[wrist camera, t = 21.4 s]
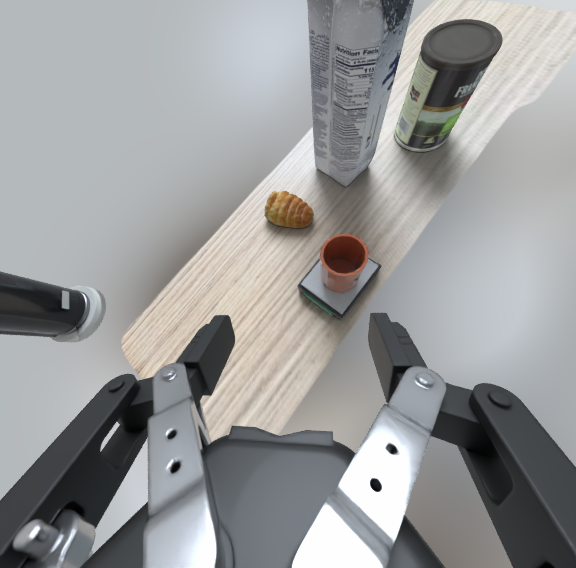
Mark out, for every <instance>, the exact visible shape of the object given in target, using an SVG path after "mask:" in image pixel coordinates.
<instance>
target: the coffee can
mask: <svg viewBox="0 0 576 568" xmlns="http://www.w3.org/2000/svg"><path fill="white" fill-rule="evenodd" d="M501 45H502V35H501V33H500V31H499V30H498V29H497V28H496V27H494V26H493V25H491V24H489V23H486V22H483V21H479V20H471V19H462V20H454V21H450V22H446V23H443V24H441V25H438V26H437V27H435V28H433V29H432V30H431V31H429V32H428V33H427V35H426V36H425V37H424V40H423V42H422V46H421V52H420V55H419V58H418V61H417V64H416V67H415V70H414V73H413V76H412V80H411V83H410V86H409V89H408V92H407V95H406V98H405V101H404V104H403V107H402V110H401V113H400V117H399V120H398V123H397V126H396V128H395V131H394V136H395V139H396V141H397V142H398V144H399V145H401V146H402V147H404V148H405V149H408V150H411V151H415V152H426V151H431V150H434V149H436V148H438V147H440V146H441V145H442V144H443V143H444V142H445V141H446V139H447V137H448V135H449V133H450V132H451V130H452V128H453V127H454V125H455V123H456V121H457V119H458V118H459V116H460V114H461V113H462V111H463V109H464V107H465V106H466V104H467V102H468V100H469V99H470V97H471V95H472V94H473V92H474V90H475V89H476V87H477V85H478V83H479V82H480V80H481V78H482V76H483V75H484V73H485V71H486V69H487V68H488V66H489V64H490V63H491V61H492V59H493V57H494V56H495V55H496V54H497V52H498V51H499V49H500V47H501Z"/></svg>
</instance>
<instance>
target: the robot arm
mask: <svg viewBox="0 0 576 568" xmlns="http://www.w3.org/2000/svg"><path fill="white" fill-rule="evenodd" d="M89 311H90V300H89V297H88V296H87V295H86V294H85V293H84V292H82V291H78V290H71V289H67V288H63V287H60V286H56V285H52V284H48V283H44V282H40V281H35V280H32V279H28V278H24V277H20V276H16V275H12V274H8V273H4V272H0V334H7V335H8V334H9V335H26V336H43V337H56V336H58V335H68V334H71V333H73V332H75V331H76V330H77V329H79V328H80V327H81V326H82V325H83V323H84V322H85V320H86V319H87V317H88V314H89ZM368 341H369V347H370V350H371V353H372V357H373V360H374V363H375V366H376V370H377V373H378V376H379V379H380V383H381V386H382V389H383V392H384V396H385V399H386V402H387V403H388V404H387V405H386V404H384V405H383V407H382V408H381V410H380V412H379V414H378V415H377V417H376V419H375V421H374V422H373V424H372V426H371V428H370V430H369V431H368V433H367V435H366V437H365V438H364V440H363V442H362V444H361V445H360V447H359V449H358V451H357V453H354V452H353V451H352V450H351V449H349V448H348V447H346V446H345V445H343V444H341V443H339V442H336V441H334V440H333V432H329V431H311V430H306V431H301V432H296V433H292V434H288V435H283V436H278V435H275V434H272V433H270V432H267V431H264V430H262V429H259V428H256V427H242V426H232V428H231V431H230V434H229V435H226V436H224V437H221V438H219V439H217V440H215V441H213V442H211V439H210V436H209V432H208V428H207V424H206V420H205V416H204V412H203V408H202V404H201V402H200V400H201V398H202V396H203V395H209V396H211V395H212V393H213V391H214V389H215V386H216V384H217V382H218V380H219V378H220V375H221V373H222V371H223V369H224V367H225V365H226V362H227V360H228V358H229V356H230V354H231V351H232V349H233V347H234V344H235V335H234V331H233V327H232V324H231V320H230V317H229V316H228V315H216V316H214V317H213V319H212V320H211V322H210V323H209V324H206V325H205V326H203V327H202V328H201V329H199V331H198V332H197V333H196V335H195V336H194V338H193V339H192V340H191V342H190V343H189V344H188V346H187V347H186V349H185V350H184V351H183V353H182V354H181V356H180V357H179V358H178V360H177V361H176V363H172V364H169V365H167V366H165V367H163V368H162V369H160V370H159V371H158V372H157V373H156V374H155V376H154V377H151V378H147V379H143V380H139V381H137V379H136V378H135V376H134V375H132V374H124V375H121V376H118V377H116V378H114V379H112V380H111V381H110V382H108V383H107V384H106V385H105V386H104V387H103V388H102V389H101V390H100V391H99V392H98V393H97V394H96V395H95V397H94V398H93V399H92V400H91V401H90V402H89V403H88V404H87V405H86V407H85V408H84V409H83V410H82V411H81V412H80V413H79V414H78V415H77V417H76V418H75V419H74V420H73V421H72V422H71V423H70V424H69V425H68V426H67V427H66V429H65V430H64V431H63V432H62V433H61V434H60V435H59V436H58V437H57V438H56V440H55V441H54V442H53V443H52V444H51V445H50V446H49V447H48V448H47V450H46V451H45V452H44V453H43V454H42V455H41V456H40V457H39V458H38V459H37V460H36V462H35V463H34V464H33V465H32V466H31V467H30V468H29V469H28V471H27V472H26V473H25V474H24V475H23V476H22V477H21V478H20V479H19V480H18V481H17V483H16V484H15V485H14V486H13V487H12V488H11V489H10V490H9V492H8V493H7V494H6V495H5V496H4V497H3V498H2V499H1V500H0V568H445V567H444V565H443V564H442V563H441V561H440V560H439V559H438V557H437V556H436V555H435V554H434V552H433V551H432V550H431V548H430V547H429V546H428V545H427V543H426V542H425V541H424V539H423V538H422V537H421V535H420V534H419V533H418V531H417V530H416V529H415V528H414V526H413V525H412V524H411V522H410V521H409V520H408V519H407V517H406V516H405V515H404V513H405V510H406V507H407V504H408V501H409V498H410V495H411V492H412V489H413V486H414V484H415V481H416V478H417V475H418V472H419V469H420V466H421V463H422V460H423V457H424V454H425V451H426V448H427V445H428V442H429V439H430V436H433V437H436V438H439V439H441V440H444V441H447V442H449V443H452V444H455V445H457V446H458V448H459V450H460V452H461V454H462V457H463V459H464V461H465V463H466V465H467V468H468V470H469V472H470V474H471V477H472V479H473V481H474V483H475V485H476V487H477V490H478V491H479V494H480V496H481V498H482V501H483V503H484V505H485V507H486V509H487V511H488V514H489V516H490V518H491V520H492V522H493V525H494V527H495V529H496V531H497V533H498V536H499V538H500V540H501V542H502V544H503V546H504V549H505V551H506V552H507V555H508V557H509V559H510V562H511V564H512V566H513V568H576V467H575V466H574V465H573V463H572V462H571V461H570V460H569V459H568V457H567V456H566V455H565V454H564V452H563V451H562V450H561V449H560V448H559V447H558V445H557V444H556V443H555V441H554V440H553V439H552V438H551V437H550V435H549V434H548V433H547V432H546V430H545V429H544V428H543V427H542V426H541V424H540V423H539V422H538V421H537V419H536V418H535V417H534V416H533V415H532V413H531V412H530V411H529V410H528V408H527V407H526V406H525V405H524V404H523V402H522V401H521V400H520V399H519V398H517V397H516V396H515V395H514V394H513V393H511V392H509V391H508V390H506V389H504V388H502V387H499V386H496V385H493V384H488V383H487V384H486V383H482V384H478V385H476V386H475V387H474V389H473V390H469V389H465V388H462V387H457V386H454V385H451V384H448V383H445V382H444V380H443V379H442V378H441V377H440V376H439V375H438V374H437V373H435V372H434V371H432V370H430V369H428V368H427V366H426V364H425V362H424V360H423V359H422V357H421V355H420V353H419V352H418V350H417V348H416V346H415V345H414V344H413V341H412V339H411V338H410V336H409V334H408V332H407V331H406V329H405V328H404V327H403V326H401V325H400V324H399V323H398V322H391V321H390V320H389V317H388V315H387V314H386V313H371V314H370V323H369V333H368ZM116 422H118V423H119V424H120V426H119V427H118V428H117V430H116V431H115V433H114V434H113V435H112V437H111V438H110V440H109V441H108V443H107V444H106V446H105V447H104V448H103V450H102V451H101V452H100V448H101V444H102V442H103V440H104V438H105V437H106V436H107V434H108V433H109V431H110V430H111V429H112V427H113V426H114V424H115V423H116ZM147 437H148V502H147V503H146V504H145V505H144V506H143V507H142V508H141V509H140V510H139V511H138V512H137V513H135V515H134V516H132V517H131V519H129V520H128V521H127V522H126V523H125V524H124V525H123V526H122V527H121V528H120V529H119V530H118V531H117V532H116V533H115V534H114V535H113V536H112V537H111V538H109V540H107V541H106V543H104V544H103V545H102V546H101V547H100V548H99V549H98V550H97V551H96V552H95V553H94V554H92V550H91V549H92V546H93V544H94V540H95V529H96V527H97V525H98V523H99V521H100V520H101V518H102V516H103V515H104V512H105V511H106V509H107V508H108V506H109V504H110V502H111V500H112V499H113V497H114V495H115V493H116V492H117V490H118V488H119V487H120V485H121V483H122V481H123V479H124V478H125V476H126V474H127V472H128V471H129V469H130V467H131V465H132V464H133V462H134V460H135V458H136V457H137V455H138V453H139V451H140V449H141V448H142V446H143V444H144V443H145V441H146V439H147Z"/></svg>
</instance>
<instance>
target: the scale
mask: <svg viewBox="0 0 576 568" xmlns="http://www.w3.org/2000/svg"><path fill="white" fill-rule="evenodd" d="M381 267H382V266H381V265H380V264H378V263H376V262H375V261H373V260H371V259H370V258H368V262H367V264H366V266H365V268H364V270H363V272H362V274H361V276H360V278H359V280H358V282H357V284H356V285H355V286H354V288H352V289H351V290H349V291H347V292H343V293H337V292H333V291H331V290H329V289H328V288H326V286H325V285H324V284H323V282H322V279H321V270H320V259H319V260H318V261H317V262H316V264H315V265H314V266H313V267H312V268H311V270H310V271H309V272H308V273H307V275H306V276H305V277H304V278H303V280H302V281H301V282H300V283H299V284H298V288H299V290H300V291H302V292H303V294H304V296H306V297H307V298H308V299H310V300H311V301H312V302H314V303H315V304H316V305H318V306H319V307H320V308H322V309H323V310H324V311H326V312H327V313H328V314H330V315H331V316H333V315H334V316H335V317H337V318H338V319H339V320H342V319H343V317H344V316H345V315H346V313H347V312H348V311H349V309H350V308H351V307H352V305H353V304H354V303H355V301H356V300H357V299H358V297H359V296H360V295H361V293H362V292H363V291H364V289H365V288H366V287H367V285H368V284H369V283H370V281H371V280H372V279H373V278H374V276H375V275H376V274H377V272H378V271H379V269H380V268H381Z"/></svg>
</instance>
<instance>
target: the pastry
mask: <svg viewBox="0 0 576 568" xmlns="http://www.w3.org/2000/svg"><path fill="white" fill-rule="evenodd" d="M313 216H314V213H313V210H312V208H310V207H309V206H308V204H307V203H306V202H303V200H302V199H301V198H298V197H297V196H296V195H293V194H289V193H288V192H287V191H282V192H276V191H274V192H273V193H272V194H271V195H270V196H269V198H268V200H267V204H266V206H265V217H266V218H267V219H268V220H269V221H270V222H272V223H273V224H276V225H278V226H283V227H291V228H303V227H307V226H309V225H310V223H311V222H312V219H313Z"/></svg>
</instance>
